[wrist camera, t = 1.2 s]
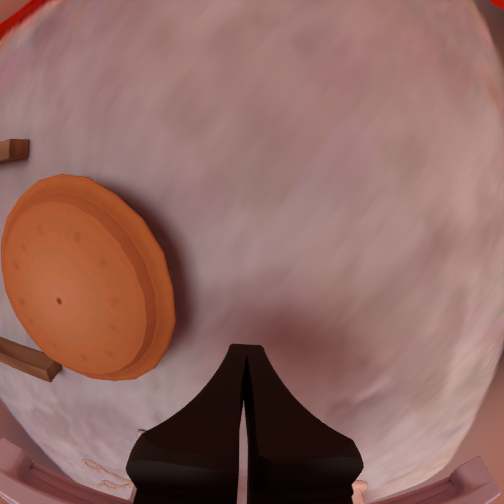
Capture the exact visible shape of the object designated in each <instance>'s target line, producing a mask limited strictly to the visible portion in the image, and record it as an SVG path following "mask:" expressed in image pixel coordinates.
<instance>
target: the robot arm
mask: <svg viewBox="0 0 504 504" xmlns="http://www.w3.org/2000/svg"><path fill="white" fill-rule="evenodd" d="M243 401H244V407H245V418H246V428H247V438H248V477H247V504H353V500H352V495H353V494H354V491H353V487H352V484H353V482H354V481H355V480H356V479H357V477H358V476H359V474H360V473H361V472H362V470H363V467H364V466H363V461H362V458H361V455H360V453H359V451H358V449H357V447H356V445H355V443H354V441H353V440H352V439H350V438H348V437H346V436H344V435H342V434H340V433H339V432H337V431H335V430H333V429H332V428H330V427H329V426H327V425H326V424H324V423H323V422H321V421H320V420H319V419H317V418H316V417H315V416H314V415H312V414H311V413H310V412H309V411H308V410H307V409H306V408H304V407H303V406H302V405H301V404H300V403H299V402H298V401H297V399H296V398H295V397H294V396H293V395H292V394H291V393H290V392H289V390H288V389H287V388H286V386H285V385H284V384H283V382H282V381H281V380H280V378H279V377H278V375H277V373H276V372H275V370H274V369H273V367H272V365H271V363H270V362H269V360H268V358H267V356H266V353H265V351H264V348H263V347H262V346H261V345H245V344H231V345H230V346H229V350H228V352H227V354H226V356H225V358H224V360H223V362H222V363H221V365H220V367H219V368H218V370H217V371H216V373H215V374H214V376H213V377H212V378H211V380H210V381H209V382H208V383H207V385H206V386H205V387H204V388H203V389H202V390H201V392H200V393H199V394H198V395H197V396H196V397H195V398H194V399H193V400H192V401H190V402H189V403H188V404H187V405H186V406H185V407H184V408H182V409H181V410H180V411H179V412H177V413H176V414H174V415H173V416H172V417H170V418H169V419H167V420H166V421H164V422H163V423H161V424H159V425H157V426H155V427H154V428H152V429H150V430H148V431H141V430H139V431H137V436H138V440H137V441H136V443H135V445H134V447H133V449H132V451H131V453H130V456H129V459H128V462H127V466H126V471H127V474H128V476H129V477H130V479H131V481H132V482H133V484H134V486H133V490H132V493H131V497H130V499H128V500H125V499H122V498H119V497H115V496H112V495H109V494H106V493H103V492H100V491H97V490H94V489H92V488H89V487H86V486H84V485H81V484H79V483H76V482H74V481H72V480H69V479H67V478H65V477H62V476H60V475H58V474H56V473H54V472H52V471H50V470H47V469H46V468H44V467H42V466H40V465H38V464H36V463H34V462H33V461H32V459H31V458H30V456H29V455H28V454H27V453H26V452H25V451H24V450H22V449H21V448H19V447H17V446H16V445H14V444H13V443H11V442H9V441H8V440H6V439H5V438H2V440H1V441H0V496H1V497H2V498H3V499H5V500H6V501H7V502H8V503H9V504H237V490H238V476H239V429H240V422H241V415H242V408H243ZM500 493H501V491H500V489H499V487H498V485H497V484H496V482H495V480H494V478H493V477H492V475H491V473H490V472H489V470H488V468H487V466H486V465H485V463H484V461H483V460H482V458H481V457H480V456H478V457H476V458H474V459H472V460H470V461H468V462H466V463H464V464H462V465H460V466H459V467H458V468H457V469H455V470H454V471H453V472H452V473H451V475H450V476H449V477H447V478H445V479H443V480H440V481H438V482H436V483H433V484H431V485H428V486H425V487H423V488H420V489H418V490H415V491H412V492H409V493H406V494H403V495H400V496H397V497H393V498H390V499H387V500H383V501H380V502H376V503H372V504H489V503H490V502H492V501H493V500H494V499H495V498H496V497H498V496H499V495H500Z"/></svg>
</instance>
